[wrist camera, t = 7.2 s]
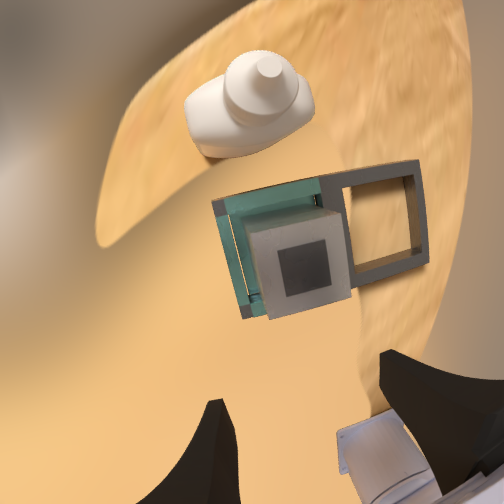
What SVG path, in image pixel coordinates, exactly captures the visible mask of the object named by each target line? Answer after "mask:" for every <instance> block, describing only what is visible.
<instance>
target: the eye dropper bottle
mask: <svg viewBox="0 0 504 504" xmlns="http://www.w3.org/2000/svg"><path fill="white" fill-rule="evenodd" d="M184 112H185V117H186V121H187V125H188V129H189V133H190V136H191V138H192V140H193V142H194V143H195V145H196V147H197V148H198V150H199V151H200V153H201V154H202V155H204V156H207V157H213V158H236V157H242V156H247V155H251V154H254V153H257V152H259V151H262V150H264V149H266V148H268V147H270V146H272V145H273V144H275V143H277V142H278V141H280V140H281V139H283V138H285V137H287V136H288V135H290V134H292V133H293V132H295V131H296V130H298V129H299V128H301V127H302V126H304V125H305V124H307V123H308V122H309V121H310V120H311V119H312V117H313V116H314V114H315V104H314V99H313V96H312V92H311V89H310V86H309V83H308V82H307V80H306V79H305V78H304V77H303V76H301V75H299V74H297V72H295V69H294V68H293V66H292V65H291V63H289V62H288V61H287V60H286V59H285V58H283V57H282V56H280V55H279V54H276V53H273V52H269V51H265V50H263V51H262V50H259V51H258V50H256V51H252V52H250V51H249V52H248V53H245V54H241V56H238V58H235V60H233V62H232V63H230V65H229V66H228V69H226V72H225V74H223V75H220V76H218V77H216V78H214V79H212V80H210V81H208V82H207V83H205V84H203V85H202V86H200V87H199V88H198V89H196V90H195V91H194V92H193V93H191V94H190V95H189V96H188V98H187V99H186V101H185V104H184Z"/></svg>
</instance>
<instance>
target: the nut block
mask: <svg viewBox="0 0 504 504" xmlns="http://www.w3.org/2000/svg"><path fill="white" fill-rule="evenodd" d="M241 221H242V226H243V230H244V235H245V239H246V243H247V248H248V252H249V257H250V261H251V265H252V270H253V274H254V279H255V282H256V285H257V288H258V291H259V293H260V296H261V299H262V301H263V304H264V307H265V309H266V312H267V314H268V317H269V320H271V319H275V318H279V317H283V316H287V315H291V314H294V313H298V312H302V311H306V310H309V309H313V308H316V307H320V306H323V305H327V304H330V303H334V302H337V301H340V300H344V299H347V298H350V297H351V287H350V278H349V269H348V260H347V252H346V245H345V237H344V230H343V224H342V217H341V213H338V212H335V211H331V210H328V209H325V208H321V207H318V206H315V205H311V204H308V203H305V204H300V205H295V206H291V207H286V208H282V209H277V210H273V211H268V212H264V213H259V214H255V215H251V216H246V217H242V218H241Z"/></svg>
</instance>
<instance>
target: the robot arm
mask: <svg viewBox="0 0 504 504" xmlns="http://www.w3.org/2000/svg"><path fill="white" fill-rule="evenodd" d="M379 386H380V388H381V390H382V392H383V394H384V396H385V397H386V399H387V401H388V403H389V404H390V405H391V407H392V409H390V410H388V411H385V412H383V413H381V414H378V415H376V416H374V417H371V418H369V419H366V420H364V421H361V422H359V423H356V424H353V425H351V426H348V427H345V428H342V429H340V430H338V431H337V446H338V459H339V472H340V474H341V475H343V474H346V473H349V475H350V477H351V479H352V482H353V484H354V486H355V488H356V490H357V493H358V495H359V497H360V499H361V502H362V504H504V380H486V379H477V378H470V377H464V376H460V375H456V374H452V373H448V372H445V371H442V370H439V369H436V368H434V367H431V366H428V365H426V364H424V363H421V362H419V361H417V360H414V359H412V358H410V357H408V356H406V355H403V354H401V353H399V352H397V351H395V350H392V349H390V350H387V351H385V352H382V353H380V380H379ZM404 424H405V425H406V426H407V428H408V429H409V430H410V432H411V433H412V435H413V436H414V438H415V439H416V441H417V442H418V444H419V446H420V448H421V450H422V452H423V453H424V455H425V457H426V459H427V460H426V459H425V458H424V456H423V455H422V453H421V452H420V451H419V449H418V448H417V446H416V445H415V444H414V442H413V440H412V439H411V438H410V436H409V435H408V434H407V432H406V430H405V429H404V428H403V425H404ZM427 461H428V462H427ZM238 478H239V477H238V447H237V441H236V435H235V429H234V426H233V424H232V421H231V419H230V416H229V414H228V411H227V409H226V406H225V403H224V401H223V399H217V400H211V401H209V402H208V403H207V405H206V408H205V411H204V414H203V416H202V418H201V421H200V423H199V426H198V428H197V430H196V432H195V434H194V436H193V438H192V440H191V442H190V443H189V445H188V447H187V449H186V450H185V452H184V454H183V455H182V457H181V458H180V460H179V461H178V463H177V464H176V465H175V467H174V468H173V469H172V470H171V472H170V473H169V474H168V475H167V477H166V478H165V479H164V480H163V481H162V482H161V483H160V484H159V485H158V486H157V487H156V488H155V489H154V490H153V491H152V492H150V493H149V494H148V495H147V496H146V497H145V498H143V499H142V500H141V501H139V502H138V503H136V504H241V501H240V494H239V479H238Z"/></svg>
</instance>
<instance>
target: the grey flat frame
mask: <svg viewBox="0 0 504 504" xmlns="http://www.w3.org/2000/svg"><path fill="white" fill-rule="evenodd" d="M401 176H403V180H404V187H405V193H406V201H407V209H408V218H409V227H410V238H411V249H408V250H405V251H402V252H399V253H395V254H392V255H389V256H386V257H382V258H379V259H376V260H373V261H369V262H366V263H363V264H359V265H356V266H354V262H353V254H352V247H351V240H350V233H349V227H348V220H347V214H346V209H345V203H344V198H343V192H342V188H345V187H350V186H355V185H360V184H365V183H370V182H375V181H380V180H385V179H390V178H396V177H401ZM314 197H315V199H314ZM315 202H316V204H315ZM305 203H308V204H311V205H315V206H318V207H321V208H325V209H328V210H331V211H335V212H338V213H341V217H342V224H343V230H344V237H345V245H346V252H347V260H348V269H349V278H350V287H351V289H353V288H356V287H359V286H362V285H365V284H368V283H371V282H375V281H378V280H381V279H384V278H387V277H390V276H393V275H395V274H398V273H401V272H404V271H407V270H410V269H413V268H416V267H418V266H421V265H424V264H427V263H429V242H428V228H427V216H426V207H425V198H424V190H423V182H422V176H421V169H420V163H419V159H418V160H404V161H397V162H391V163H385V164H379V165H373V166H367V167H362V168H356V169H351V170H345V171H340V172H335V173H330V174H324V175H319V176H315V177H310V178H305V179H300V180H296V181H291V182H286V183H282V184H277V185H273V186H268V187H264V188H259V189H255V190H251V191H247V192H243V193H239V194H234V195H231V196H226V197H222V198H218V199H214V200H212V206H213V210H214V214H215V217H216V222H217V226H218V229H219V233H220V237H221V241H222V245H223V248H224V253H225V256H226V260H227V264H228V268H229V271H230V275H231V279H232V283H233V286H234V290H235V294H236V297H237V301H238V305H239V308H240V312H241V315H242V319H247V318H251V317H258V316H262V315H265V314H267V312H266V309H265V307H264V304H263V301H262V299H261V296H260V293H258V292H259V291H258V288H257V285H256V282H255V279H254V274H253V270H252V265H251V261H250V257H249V252H248V248H247V243H246V239H245V235H244V230H243V226H242V221H241V218H242V217H246V216H251V215H255V214H259V213H264V212H268V211H273V210H277V209H282V208H286V207H291V206H295V205H300V204H305ZM228 215H229V217H230V221H231V225H232V229H233V233H234V237H235V241H236V245H237V249H238V253H239V257H240V261H241V265H242V268H243V273H244V276H245V280H246V284H247V288H248V292H249V295H248V294H247V290H246V286H245V282H244V278H243V274H242V270H241V266H240V263H239V259H238V255H237V251H236V247H235V243H234V239H233V235H232V231H231V227H230V223H229V219H228ZM254 293H255V294H254ZM250 294H251V295H250Z"/></svg>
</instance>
